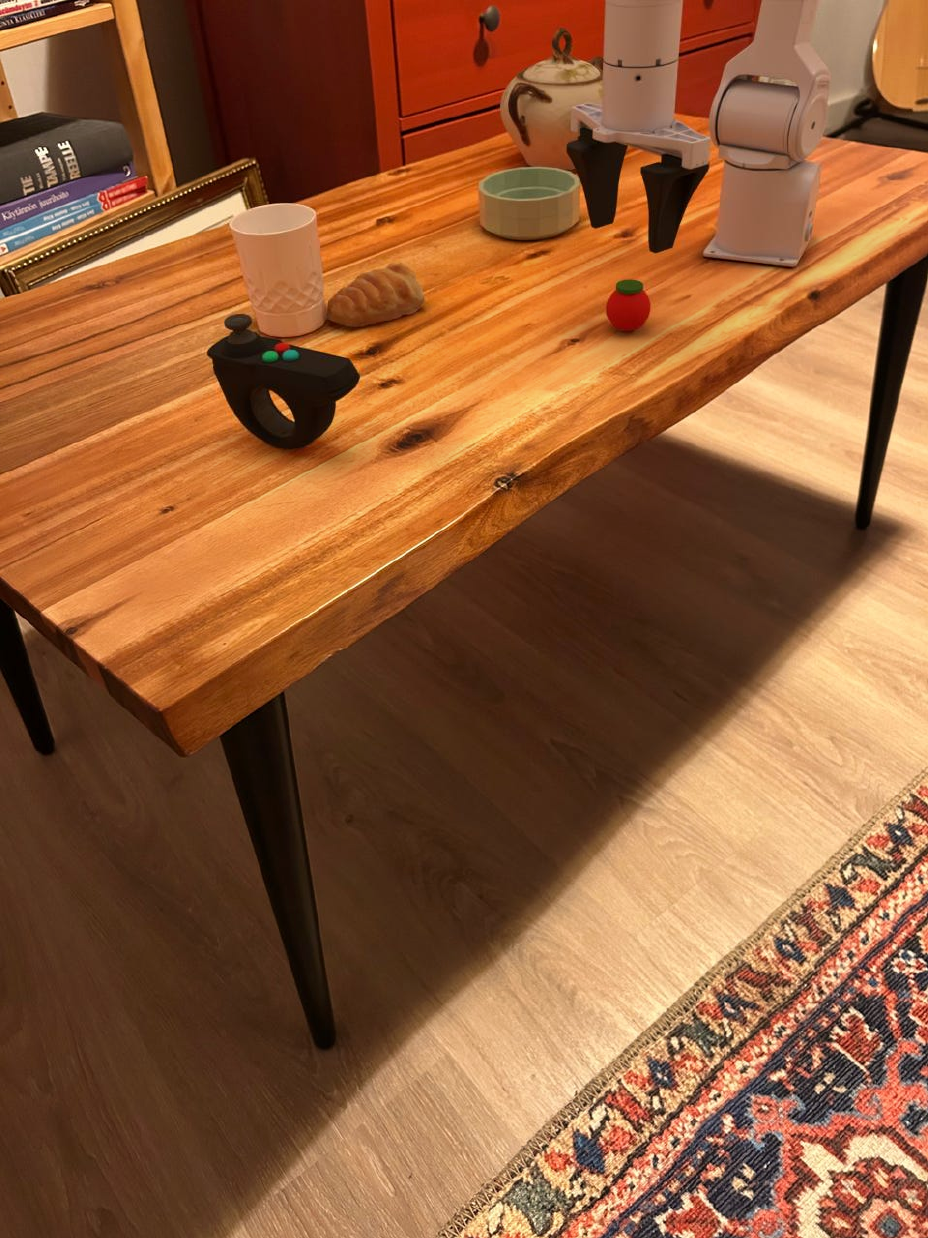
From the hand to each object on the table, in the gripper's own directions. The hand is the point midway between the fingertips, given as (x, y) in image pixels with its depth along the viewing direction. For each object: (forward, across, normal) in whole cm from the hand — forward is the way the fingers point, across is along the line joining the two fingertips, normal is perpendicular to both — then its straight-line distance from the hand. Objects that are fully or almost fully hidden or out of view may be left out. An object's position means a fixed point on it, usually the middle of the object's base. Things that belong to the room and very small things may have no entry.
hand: (630, 236), depth 84 cm
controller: (+9, -1, -33) cm, 34 cm away
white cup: (+9, -22, -23) cm, 33 cm away
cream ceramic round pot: (+9, -43, +26) cm, 51 cm away
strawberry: (+8, 0, 0) cm, 8 cm away
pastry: (+9, -19, -16) cm, 26 cm away
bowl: (+8, -27, +10) cm, 30 cm away
